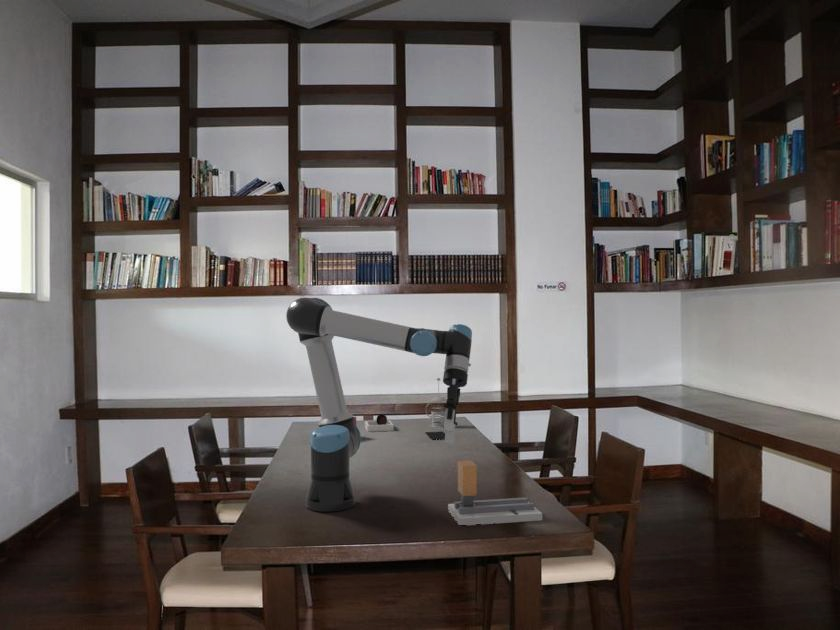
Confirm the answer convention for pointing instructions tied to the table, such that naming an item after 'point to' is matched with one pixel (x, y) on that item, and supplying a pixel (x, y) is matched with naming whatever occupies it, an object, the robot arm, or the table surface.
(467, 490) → the fader
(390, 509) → the table surface
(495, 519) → the fader console
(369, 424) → the watch dish
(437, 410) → the french press
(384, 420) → the compass
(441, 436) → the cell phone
